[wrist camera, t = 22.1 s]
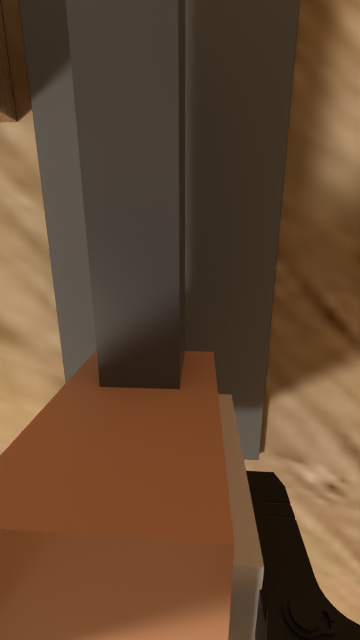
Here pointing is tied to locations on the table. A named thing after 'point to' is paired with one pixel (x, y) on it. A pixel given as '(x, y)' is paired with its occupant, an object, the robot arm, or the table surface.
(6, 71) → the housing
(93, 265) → the plug
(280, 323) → the table surface
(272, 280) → the mat
